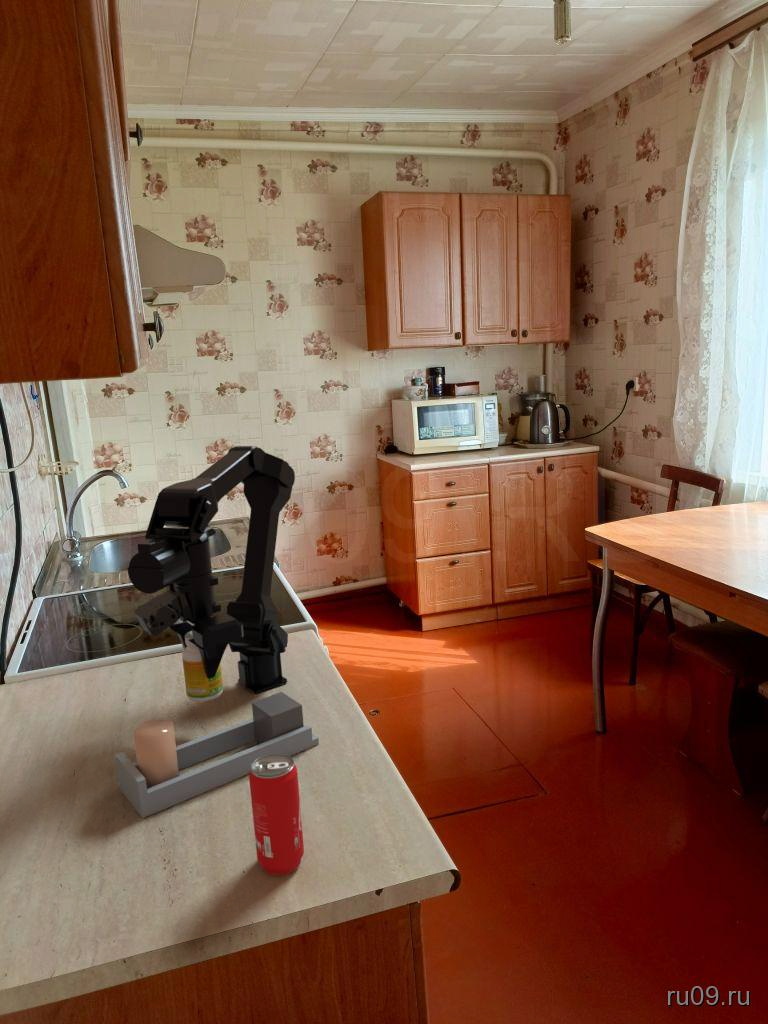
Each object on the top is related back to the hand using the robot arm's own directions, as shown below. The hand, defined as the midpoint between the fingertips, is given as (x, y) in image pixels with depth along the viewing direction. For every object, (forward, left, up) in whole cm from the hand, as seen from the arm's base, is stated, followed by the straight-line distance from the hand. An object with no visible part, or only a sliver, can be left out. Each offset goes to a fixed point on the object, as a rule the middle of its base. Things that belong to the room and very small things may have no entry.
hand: (202, 671), depth 111 cm
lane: (+3, +11, -10) cm, 15 cm away
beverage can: (+7, +34, -10) cm, 36 cm away
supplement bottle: (0, 0, -4) cm, 4 cm away
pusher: (-6, +11, -10) cm, 16 cm away
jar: (+12, +11, -10) cm, 19 cm away
